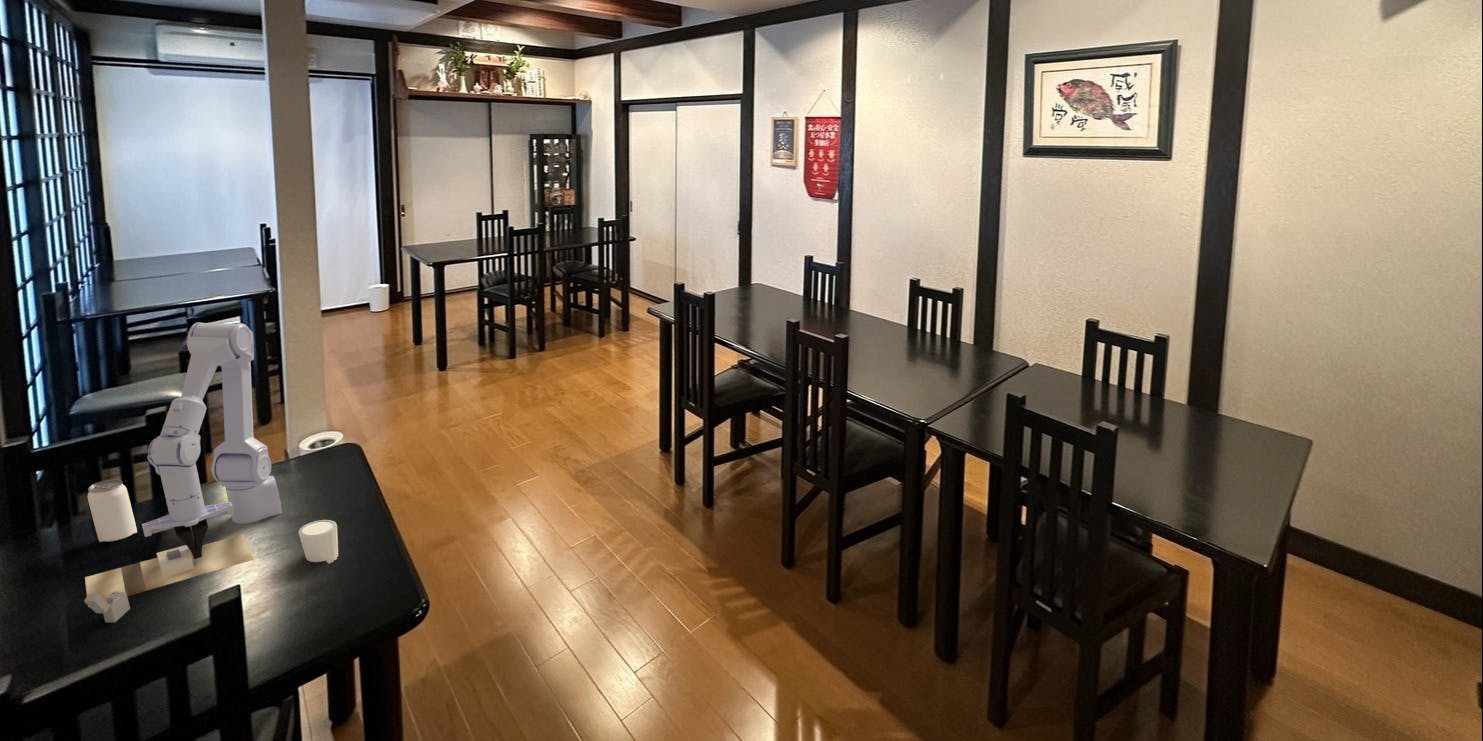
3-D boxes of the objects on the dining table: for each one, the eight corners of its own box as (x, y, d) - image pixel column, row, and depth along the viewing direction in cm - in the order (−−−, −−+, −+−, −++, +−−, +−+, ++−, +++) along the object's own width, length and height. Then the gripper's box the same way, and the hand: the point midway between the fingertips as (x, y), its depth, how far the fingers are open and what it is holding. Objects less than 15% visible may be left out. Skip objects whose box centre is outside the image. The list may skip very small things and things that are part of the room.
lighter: (122, 612, 145) (112, 574, 142) (132, 612, 145) (122, 574, 142) (93, 638, 138) (82, 598, 135) (104, 637, 138) (93, 597, 135)
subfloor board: (243, 538, 169) (242, 534, 169) (254, 563, 160) (253, 559, 160) (86, 581, 153) (84, 577, 153) (89, 612, 145) (88, 607, 144)
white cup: (303, 571, 158) (298, 539, 156) (303, 554, 164) (298, 523, 162) (342, 562, 161) (337, 531, 159) (340, 546, 167) (336, 516, 165)
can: (117, 547, 165) (103, 494, 161) (91, 543, 166) (76, 490, 162) (145, 531, 171) (133, 480, 167) (119, 527, 172) (106, 476, 168)
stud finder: (189, 555, 161) (186, 543, 160) (194, 568, 156) (191, 556, 156) (159, 564, 158) (156, 551, 157) (163, 577, 153) (159, 565, 152)
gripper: (139, 513, 147) (155, 577, 152) (231, 491, 156) (243, 552, 160) (135, 498, 152) (150, 561, 157) (224, 478, 161) (236, 537, 166)
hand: (197, 556), depth 159 cm, fingers closed
